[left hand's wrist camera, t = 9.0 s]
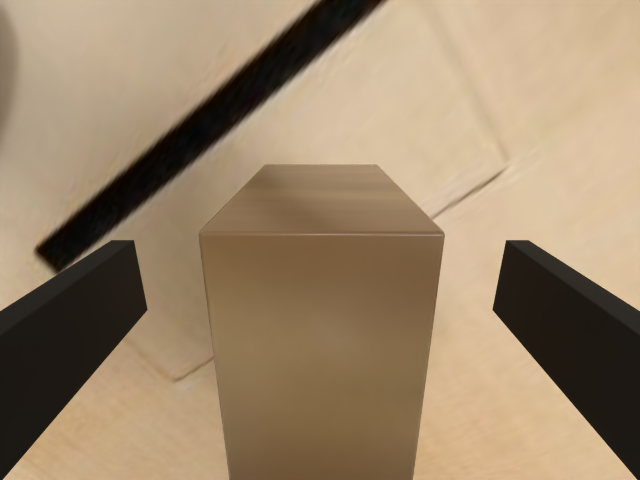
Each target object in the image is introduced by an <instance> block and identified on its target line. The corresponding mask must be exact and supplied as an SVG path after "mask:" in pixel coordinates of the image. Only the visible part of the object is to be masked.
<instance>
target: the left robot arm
mask: <svg viewBox="0 0 640 480" xmlns="http://www.w3.org/2000/svg"><path fill="white" fill-rule="evenodd" d="M146 311H147V305H146V300H145V295H144V290H143V285H142V279H141V274H140V269H139V264H138V259H137V254H136V249H135V244H134V240H111V241H110V242H108V243H107V244H105V245H104V246H102V247H100V248H99V249H97V250H96V251H94V252H93V253H91V254H89V255H88V256H86V257H85V258H83V259H82V260H80V261H78V262H77V263H75V264H74V265H72V266H71V267H69V268H68V269H66V270H64V271H63V272H61V273H60V274H58V275H57V276H55V277H53V278H52V279H50V280H49V281H47V282H46V283H44V284H42V285H41V286H39V287H38V288H36V289H35V290H33V291H31V292H30V293H28V294H27V295H25V296H24V297H22V298H20V299H19V300H17V301H16V302H14V303H13V304H11V305H9V306H8V307H6V308H5V309H3V310H2V311H0V480H3V479H4V477H5V476H6V475H7V474H8V473H9V472H10V470H11V469H12V468H13V467H14V466H15V465H16V463H17V462H18V461H19V460H20V459H21V457H22V456H23V455H24V454H25V453H26V452H27V450H28V449H29V448H30V447H31V446H32V445H33V443H34V442H35V441H36V440H37V439H38V438H39V436H40V435H41V434H42V433H43V432H44V431H45V429H46V428H47V427H48V426H49V425H50V423H51V422H52V421H53V420H54V419H55V418H56V416H57V415H58V414H59V413H60V412H61V411H62V409H63V408H64V407H65V406H66V405H67V404H68V402H69V401H70V400H71V399H72V398H73V397H74V395H75V394H76V393H77V392H78V391H79V389H80V388H81V387H82V386H83V385H84V384H85V382H86V381H87V380H88V379H89V378H90V377H91V375H92V374H93V373H94V372H95V371H96V370H97V368H98V367H99V366H100V365H101V364H102V363H103V361H104V360H105V359H106V358H107V357H108V355H109V354H110V353H111V352H112V351H113V350H114V348H115V347H116V346H117V345H118V344H119V343H120V341H121V340H122V339H123V338H124V337H125V336H126V334H127V333H128V332H129V331H130V330H131V329H132V327H133V326H134V325H135V324H136V323H137V321H138V320H139V319H140V318H141V317H142V316H143V314H144V313H145V312H146ZM493 311H494V312H495V313H496V314H497V316H498V317H499V318H500V319H501V320H502V321H503V323H504V324H505V325H506V326H507V327H508V329H509V330H510V331H511V332H512V333H513V334H514V336H515V337H516V338H517V339H518V340H519V341H520V343H521V344H522V345H523V346H524V347H525V348H526V350H527V351H528V352H529V353H530V354H531V355H532V357H533V358H534V359H535V360H536V361H537V363H538V364H539V365H540V366H541V367H542V368H543V370H544V371H545V372H546V373H547V374H548V375H549V377H550V378H551V379H552V380H553V381H554V382H555V384H556V385H557V386H558V387H559V388H560V389H561V391H562V392H563V393H564V394H565V395H566V397H567V398H568V399H569V400H570V401H571V402H572V404H573V405H574V406H575V407H576V408H577V409H578V411H579V412H580V413H581V414H582V415H583V416H584V418H585V419H586V420H587V421H588V422H589V423H590V425H591V426H592V427H593V428H594V429H595V431H596V432H597V433H598V434H599V435H600V436H601V438H602V439H603V440H604V441H605V442H606V443H607V445H608V446H609V447H610V448H611V449H612V450H613V452H614V453H615V454H616V455H617V456H618V457H619V459H620V460H621V461H622V462H623V463H624V465H625V466H626V467H627V468H628V469H629V470H630V472H631V473H632V474H633V475H634V476H635V477H636V479H637V480H640V311H638V310H637V309H635V308H634V307H632V306H631V305H629V304H627V303H626V302H624V301H623V300H621V299H620V298H618V297H616V296H615V295H613V294H612V293H610V292H609V291H607V290H605V289H604V288H602V287H601V286H599V285H598V284H596V283H594V282H593V281H591V280H590V279H588V278H587V277H585V276H583V275H582V274H580V273H579V272H577V271H576V270H574V269H572V268H571V267H569V266H568V265H566V264H565V263H563V262H562V261H560V260H558V259H557V258H555V257H554V256H552V255H551V254H549V253H547V252H546V251H544V250H543V249H541V248H540V247H538V246H536V245H535V244H533V243H532V242H530V241H529V240H506V244H505V249H504V254H503V259H502V264H501V269H500V274H499V279H498V285H497V290H496V295H495V300H494V305H493Z"/></svg>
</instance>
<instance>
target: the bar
mask: <svg viewBox="0 0 640 480" xmlns="http://www.w3.org/2000/svg"><path fill="white" fill-rule="evenodd" d="M444 237H445V234H444V232H443V231H442V230H441V229H440V228H439V227H438V226H437V225H436V224H435V223H434V222H433V221H432V220H431V219H430V218H429V217H428V216H427V215H426V214H425V213H424V212H423V211H422V209H421V208H420V207H419V206H418V205H417V204H416V203H415V202H414V201H413V200H412V199H411V198H410V197H409V196H408V195H407V194H406V193H405V192H404V191H403V190H402V189H401V188H400V187H399V186H398V185H397V184H396V183H395V182H394V181H393V180H392V179H391V178H390V177H389V176H388V175H387V174H386V173H385V172H384V171H383V170H382V169H381V168H380V167H379V166H378V165H264V166H263V167H262V168H261V169H260V170H259V171H258V172H257V173H256V174H255V175H254V176H253V177H252V178H251V180H250V181H249V182H248V183H247V184H246V185H245V186H244V187H243V188H242V189H241V190H240V191H239V192H238V193H237V194H236V195H235V196H234V197H233V198H232V199H231V200H230V201H229V202H228V203H227V204H226V205H225V206H224V207H223V208H222V209H221V210H220V211H219V212H218V213H217V214H216V215H215V216H214V217H213V218H212V220H211V221H210V222H209V223H208V224H207V225H206V226H205V227H204V228H203V229H202V230H201V231H200V232H199V242H200V250H201V258H202V266H203V274H204V282H205V290H206V298H207V305H208V313H209V321H210V329H211V337H212V345H213V353H214V361H215V369H216V377H217V384H218V392H219V400H220V408H221V416H222V424H223V432H224V440H225V448H226V456H227V464H228V471H229V479H230V480H413V474H414V466H415V459H416V451H417V443H418V436H419V428H420V420H421V413H422V405H423V397H424V390H425V382H426V374H427V367H428V359H429V352H430V344H431V336H432V329H433V321H434V313H435V306H436V298H437V290H438V283H439V275H440V268H441V260H442V252H443V245H444Z"/></svg>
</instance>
